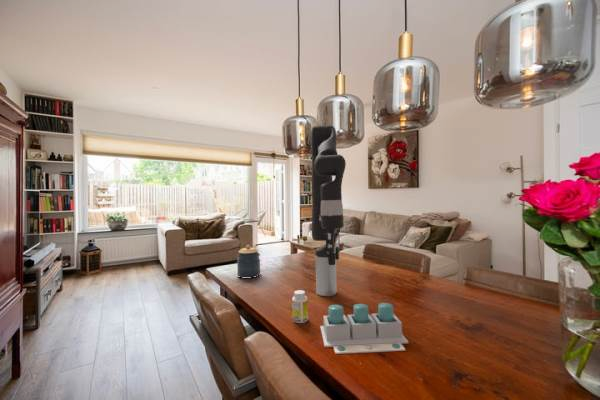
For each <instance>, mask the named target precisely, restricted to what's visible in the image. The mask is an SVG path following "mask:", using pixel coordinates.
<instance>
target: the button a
mask: <svg viewBox="0 0 600 400" xmlns="http://www.w3.org/2000/svg"><path fill="white" fill-rule="evenodd" d="M343 315H344V306H342V305H340V304H331V305H329V306H328V316H329V325H330V324H344V323H343Z"/></svg>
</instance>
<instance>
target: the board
mask: <svg viewBox="0 0 600 400" xmlns="http://www.w3.org/2000/svg"><path fill="white" fill-rule="evenodd" d="M368 315H369V323H355V322H354V313H353V314H347V316H346V315H345V314H343V323H344V324H330V325H329V315H323V325H320V326H319V328H320V332H321V337H322V340H323V346H324V347H325V348H333V346H348V345H369V344H390V343H401V344H402V345H403V344H409V340H408V339H407V338H406V337H405V336H404V334H403V325H402V324H403V323H402V321H401V320H400V319H399V318H398V317H397V316H396V314H394V322H380V321H379V318H378V312H377V313H371V314H370V313H368Z"/></svg>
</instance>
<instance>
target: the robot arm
mask: <svg viewBox="0 0 600 400" xmlns="http://www.w3.org/2000/svg"><path fill="white" fill-rule="evenodd" d="M309 134H310V153H311V202H312V203H311V204H312V205H311V206H312V210H311V213H312V214H311V237H312V240H313V241H317V242H321V241H325V244H324V245H321V246H319V247H317V248H316V249H315V285H316V286H315V287H316V288H315V290H316V294H317V295H319V296H321V297H331V296H332V297H333V296H335V295H336V294H337V261H338V260H340V251H339V250H340V245H341V243H340V241H341V240H340V236H341V235H340V230H339V229H343V228H344V227H345V226H344V225H345V224H344V206H343V200H342V185H343V179H344V178H343V177H344V174H345V169H346V165H347V164H346V160H345V157H344V156H343V155H341V154H338V151H337V130H336V127H334V126H333V125H329V124H328V125H324V124H322V125H312V126H311V128H310V133H309ZM333 177H334V179H333ZM336 260H337V261H336Z"/></svg>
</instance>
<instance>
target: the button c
mask: <svg viewBox="0 0 600 400" xmlns="http://www.w3.org/2000/svg"><path fill="white" fill-rule="evenodd" d="M377 308H378V310H377V311H378V312H377V313H378V318H379V321H380V322H394V315H395V314H394V305H393V304H392V303H388V302H380V303H378V306H377Z"/></svg>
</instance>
